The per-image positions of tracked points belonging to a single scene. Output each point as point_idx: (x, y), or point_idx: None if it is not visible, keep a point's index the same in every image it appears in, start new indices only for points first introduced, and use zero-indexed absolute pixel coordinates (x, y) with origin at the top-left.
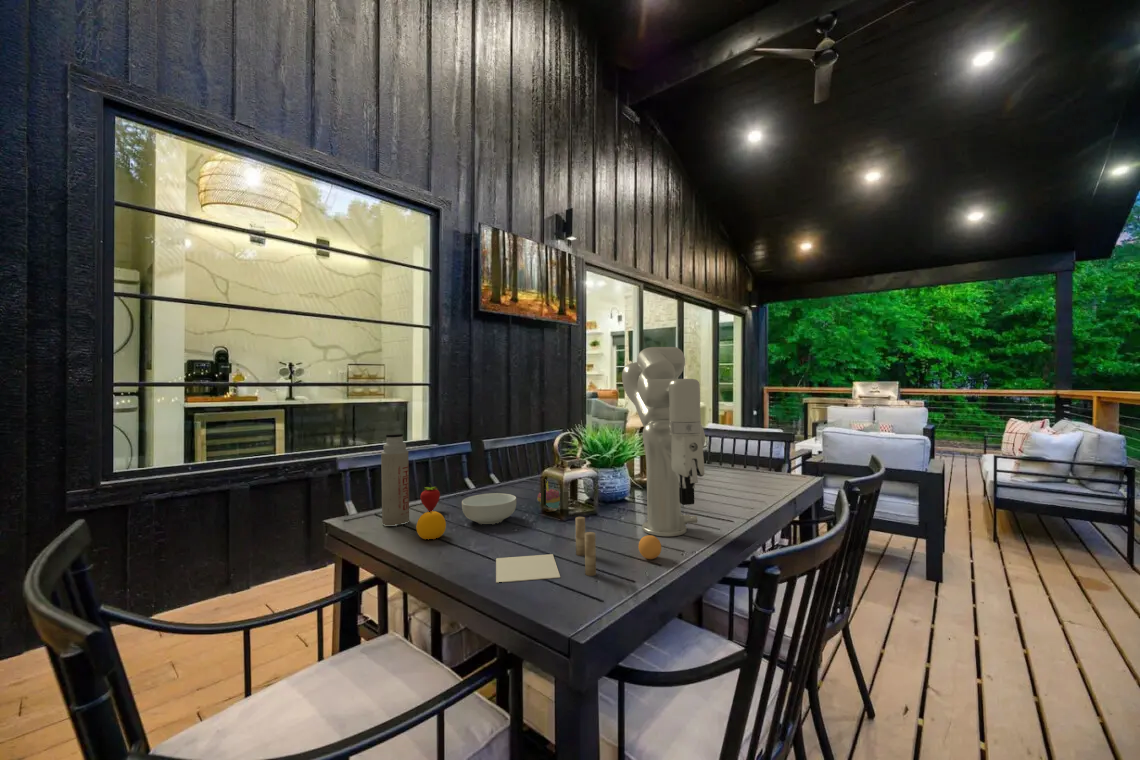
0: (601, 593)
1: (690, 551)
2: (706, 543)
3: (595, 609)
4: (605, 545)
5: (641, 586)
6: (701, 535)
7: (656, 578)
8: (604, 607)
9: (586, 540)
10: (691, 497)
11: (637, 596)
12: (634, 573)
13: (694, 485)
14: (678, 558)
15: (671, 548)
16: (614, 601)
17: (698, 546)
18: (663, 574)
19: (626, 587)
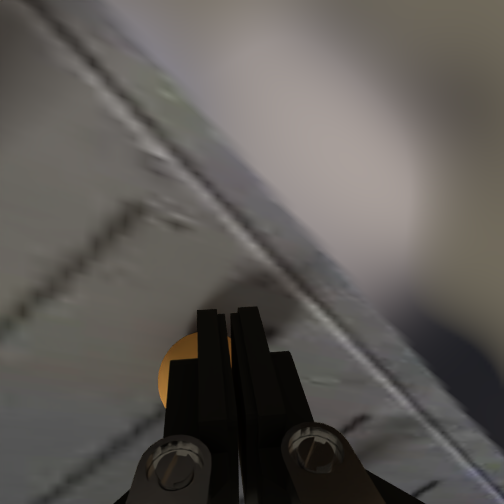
0: (400, 483)
1: (146, 177)
2: (27, 40)
3: (462, 493)
4: (49, 463)
5: (398, 405)
6: None
7: (365, 362)
8: (462, 480)
9: None
10: (293, 375)
11: (444, 420)
12: (314, 410)
13: (356, 458)
14: (221, 254)
15: (99, 247)
16: (446, 463)
17: (77, 109)
18: (344, 338)
19: (391, 436)
